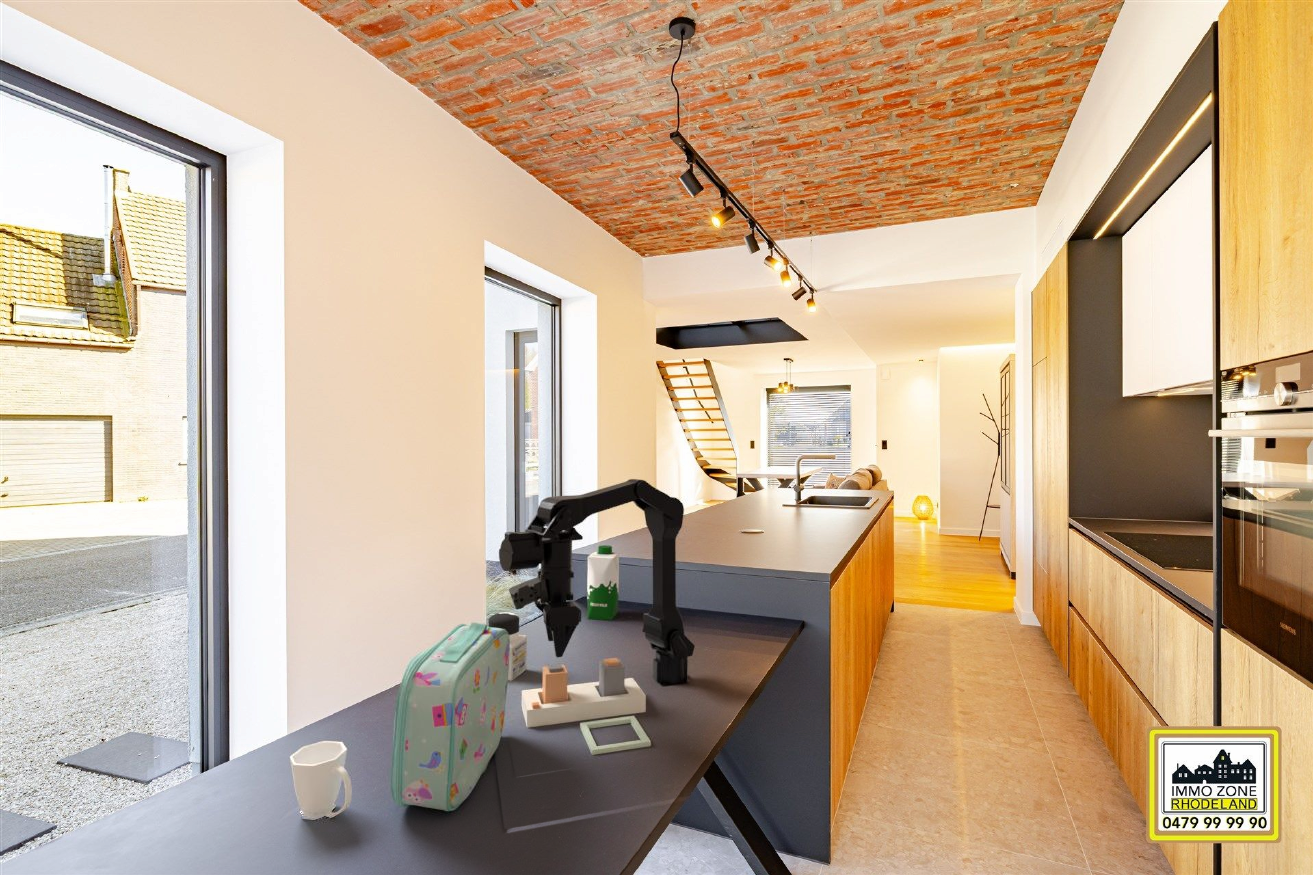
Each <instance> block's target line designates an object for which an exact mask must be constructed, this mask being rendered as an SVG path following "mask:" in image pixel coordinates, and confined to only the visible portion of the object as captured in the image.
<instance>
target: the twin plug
mask: <svg viewBox="0 0 1313 875" xmlns="http://www.w3.org/2000/svg"><path fill="white" fill-rule="evenodd" d="M603 659H604V660H599V661H598V662H599V664H598V665H599V668H598V671H599V673H598V682H599V695H600V696H601V697H606V696H614V695H622V694H624V682H625V679H626V678H625V676H626V675H625V674H626V671H625V668H626V666H625V665H624V663H623V662H622V661H621V659H620V658H617V657H611V658H603Z"/></svg>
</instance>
